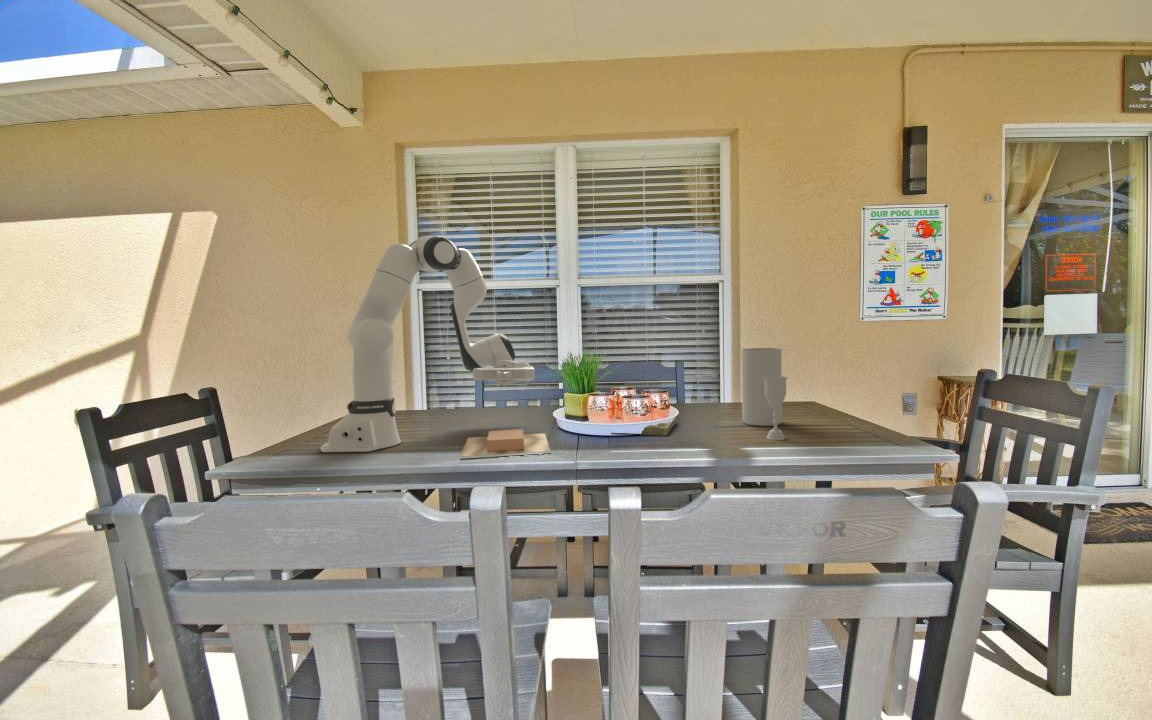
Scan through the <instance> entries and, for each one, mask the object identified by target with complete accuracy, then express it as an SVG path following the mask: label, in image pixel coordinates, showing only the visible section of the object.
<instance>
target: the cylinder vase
mask: <svg viewBox="0 0 1152 720" xmlns="http://www.w3.org/2000/svg"><path fill="white" fill-rule="evenodd" d="M782 370H783V369H782V348H779V347H754V348H752V347H751V348H741V415H742V416H741V417H742V419H741V420H742V422H743V424H745V425H748V426H754V427H774V423H773V422H772V421H773V420H774V416H773V414H774V409H773V408H772V407H770V405H769V403H768V401H767V398H766V395H765V380H764V378H763V376H769V375H780V376H783V375H782V373H783V372H782ZM777 413H778V417H777V420H778V421H779V422H778V424H777V426H780V425H781V424H782V422H783V404H782V405H781V407H780V408H778V409H777Z"/></svg>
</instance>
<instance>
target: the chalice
mask: <svg viewBox="0 0 1152 720" xmlns="http://www.w3.org/2000/svg"><path fill="white" fill-rule="evenodd" d="M788 377H789V375H788V376H787V375H782V376H780V375H769V376H763V378H764V380H765V395H766V398H767V401H768V403H769V405H770V407H772V408H773V409H774V414H773V416H774V420H773V421H772V422H773V423H774V426H773V428H772V429H770V430H769V431H768V433H767V436H766V439H768V440H774V441H781V440H782V441H783V440H785V439H786V437H785V435H784V433H783V431H782V430H781V429H779V428H778V425H777V424H778V422H779V421H778V420H777V417H778V413H777V409H778V408H780V407H781V405H782V406H783V403H784V401H785V399H786V395H787V379H788Z"/></svg>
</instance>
